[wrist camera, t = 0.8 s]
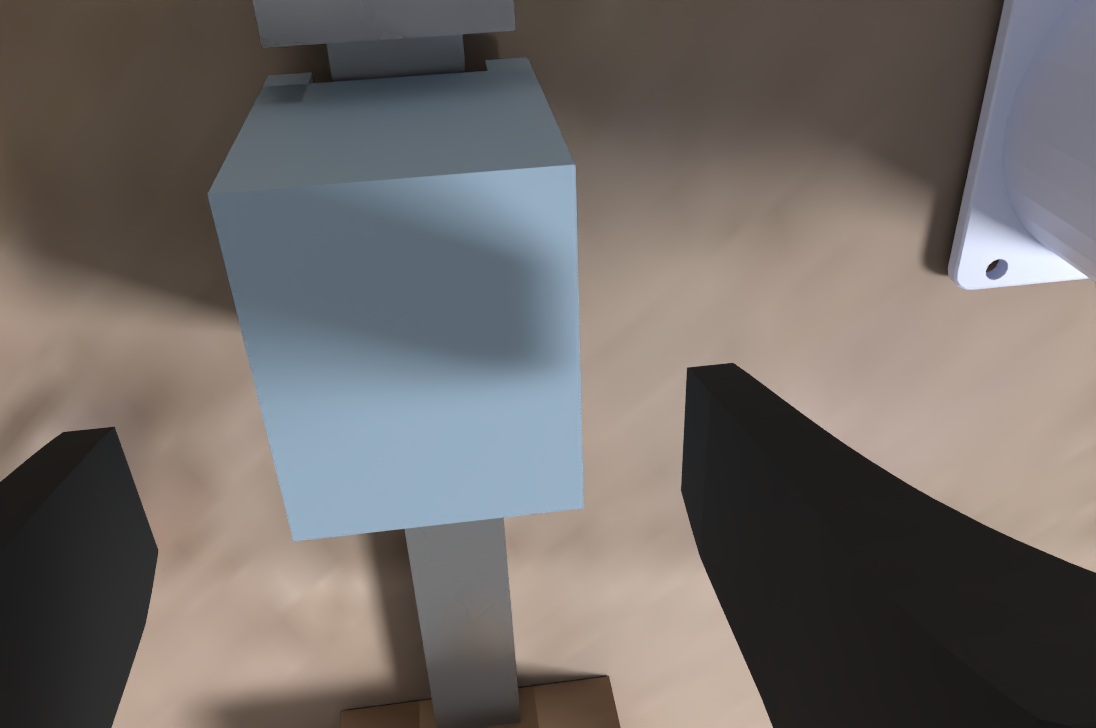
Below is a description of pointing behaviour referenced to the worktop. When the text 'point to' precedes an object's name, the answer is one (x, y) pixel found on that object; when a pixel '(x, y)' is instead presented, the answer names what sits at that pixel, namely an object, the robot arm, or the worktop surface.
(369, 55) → the rail
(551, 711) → the brown wooden block
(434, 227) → the block
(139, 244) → the worktop surface
